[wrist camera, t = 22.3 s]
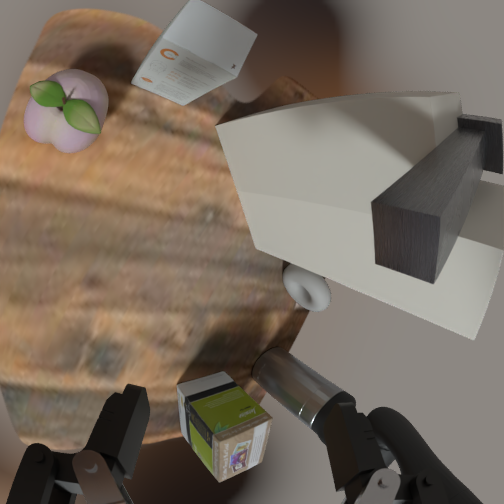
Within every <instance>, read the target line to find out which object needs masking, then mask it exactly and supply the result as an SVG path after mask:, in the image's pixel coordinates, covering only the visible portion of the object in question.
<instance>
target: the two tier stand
mask: <svg viewBox="0 0 504 504" xmlns="http://www.w3.org/2000/svg"><path fill="white" fill-rule="evenodd" d="M460 115H462V107H461V100H460V94H459V93H457V92H436V91H432V92H431V91H404V92H403V91H402V92H381V93H367V94H356V95H347V96H338V97H331V98H324V99H317V100H311V101H305V102H300V103H294V104H289V105H284V106H280V107H276V108H273V109H269V110H265V111H261V112H258V113H254V114H251V115H248V116H244V117H241V118H238V119H235V120H231V121H228V122H225V123H222V124H219V125H216V126H215V127H216V130H217V133H218V136H219V139H220V142H221V145H222V148H223V151H224V154H225V157H226V160H227V163H228V166H229V169H230V172H231V175H232V178H233V181H234V184H235V187H236V190H237V193H238V196H239V199H240V202H241V205H242V208H243V211H244V214H245V217H246V220H247V223H248V226H249V229H250V232H251V235H252V238H253V241H254V244H255V247H256V249H258V250H261V251H263V252H266V253H268V254H270V255H273V256H275V257H278V258H280V259H282V260H285V261H287V262H290V263H292V264H294V265H297V266H299V267H302V268H304V269H306V270H309V271H311V272H314V273H316V274H318V275H321V276H323V277H326V278H328V279H330V280H333V281H335V282H338V283H340V284H342V285H345V286H347V287H350V288H352V289H354V290H356V291H359V292H361V293H364V294H366V295H368V296H371V297H373V298H375V299H378V300H380V301H383V302H385V303H387V304H390V305H392V306H394V307H397V308H399V309H401V310H404V311H406V312H408V313H411V314H413V315H416V316H418V317H420V318H423V319H425V320H428V321H430V322H432V323H434V324H437V325H439V326H441V327H444V328H446V329H448V330H451V331H453V332H456V333H458V334H460V335H462V336H465V337H467V338H469V339H472V340H474V339H475V337H476V335H477V332H478V330H479V327H480V325H481V323H482V320H483V317H484V315H485V312H486V309H487V307H488V304H489V301H490V298H491V295H492V292H493V289H494V285H495V282H496V279H497V275H498V272H499V268H500V264H501V260H502V256H503V251H504V186H502V185H498V184H494V183H490V182H486V181H481V180H480V182H479V185H478V188H477V191H476V194H475V196H474V199H473V202H472V205H471V207H470V210H469V212H468V215H467V217H466V220H465V222H464V225H463V227H462V229H461V231H460V234H459V236H458V238H457V240H456V243H455V245H454V247H453V249H452V251H451V253H450V255H449V257H448V259H447V261H446V263H445V265H444V267H443V269H442V271H441V273H440V274H439V276H438V278H437V280H436V282H435V283H434V284H431V283H428V282H425V281H423V280H420V279H417V278H414V277H411V276H409V275H406V274H403V273H400V272H397V271H394V270H391V269H389V268H386V267H383V266H380V265H377V264H375V251H374V234H373V221H372V210H371V201H373V200H374V199H375V198H376V197H377V196H379V195H380V194H381V193H382V192H384V191H385V190H386V189H387V188H388V187H390V186H391V185H392V184H393V183H394V182H396V181H397V180H398V179H399V178H400V177H402V176H403V175H404V174H405V173H406V172H408V171H409V170H410V169H411V168H412V167H413V166H415V165H416V164H417V163H418V162H419V161H421V160H422V159H423V158H424V157H425V156H426V155H427V154H429V153H430V152H431V151H432V150H433V149H434V148H436V147H437V146H438V145H439V144H440V143H441V142H442V141H443V140H445V139H446V138H447V137H448V136H449V135H450V134H451V133H452V132H454V131H455V130H456V129H457V128H458V121H457V117H459V116H460Z"/></svg>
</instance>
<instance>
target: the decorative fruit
mask: <svg viewBox="0 0 504 504" xmlns="http://www.w3.org/2000/svg"><path fill="white" fill-rule="evenodd" d="M30 92H31V95H32V97H31V98H30V100H29V102H28V104H27V107H26V110H25V115H24V127H25V130H26V132H27V134H28V135H29V136H30V137H31V138H32V139H33V140H34V141H36V142H39V143H45V144H46V143H51V144H53V145H54V146H55V147H56V148H57V149H58V150H59V151H61V152H64V153H76V152H79V151H82V150H84V149H86V148H87V147H89V146H90V145H91V144H92V143H93V142H94V141H95V140H96V139H97V137H98V136H99V134H100V133H101V130H102V127H103V124H104V121H105V118H106V114H107V110H108V94H107V91H106V88H105V87H104V85H103V83H102V82H101V81H100V80H99V79H98V78H97V77H96V76H94V75H92V74H90V73H87V72H85V71H82V70H79V69H67V70H63V71H60V72H57V73H55V74H53V75H51V76H50V77H49V78H47V79H46V80H45V81H40V82H37V83H35V84H33V85H31V86H30Z"/></svg>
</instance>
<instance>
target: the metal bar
mask: <svg viewBox="0 0 504 504" xmlns="http://www.w3.org/2000/svg"><path fill="white" fill-rule="evenodd" d="M457 121H458V128H457V129H456V130H455V131H454V132H452V133H451V134H450V135H449V136H448V137H447V138H446V139H445V140H443V141H442V142H441V143H440V144H439V145H438V146H437V147H436V148H434V149H433V150H432V151H431V152H430V153H429V154H427V155H426V156H425V157H424V158H423V159H422V160H421V161H419V162H418V163H417V164H416V165H415V166H413V167H412V168H411V169H410V170H409V171H408V172H406V173H405V174H404V175H403V176H402V177H400V178H399V179H398V180H397V181H396V182H394V183H393V184H392V185H391V186H390V187H388V188H387V189H386V190H385V191H384V192H382V193H381V194H380V195H379V196H377V197H376V198H375V199H374V200H373V201H371V210H372V221H373V234H374V251H375V264H377V265H380V266H383V267H386V268H389V269H391V270H394V271H397V272H400V273H403V274H406V275H409V276H411V277H414V278H417V279H420V280H423V281H425V282H428V283H431V284H434V283H435V282H436V280H437V278H438V276H439V274H440V273H441V271H442V269H443V267H444V265H445V263H446V261H447V259H448V257H449V255H450V253H451V251H452V249H453V247H454V245H455V243H456V240H457V238H458V236H459V234H460V231H461V229H462V227H463V225H464V222H465V220H466V217H467V215H468V212H469V210H470V207H471V205H472V202H473V199H474V196H475V194H476V191H477V188H478V185H479V182H480V179H481V176H482V172H483V170H486V171H491V172H495V173H499V174H503V133H502V120H501V119H495V118H489V117H483V116H475V115H467V114H462V115H460V116H459V117H457Z"/></svg>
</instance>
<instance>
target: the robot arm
mask: <svg viewBox="0 0 504 504" xmlns="http://www.w3.org/2000/svg"><path fill="white" fill-rule="evenodd" d="M252 377H253V379H254V380H255V381H256V382H257V383H258V384H259V385H260V386H261V387H262V388H263V389H264V390H266V391H267V392H268V393H269V394H270V395H271V396H272V397H273V398H274V399H276V400H277V401H278V402H279V403H280V404H281V405H282V406H284V407H285V408H286V409H287V410H288V411H290V412H291V413H292V414H293V415H294V416H295V417H297V418H298V419H299V420H300V421H302V422H303V423H304V424H305V425H307V426H308V427H309V428H310V429H312V430H313V431H314V432H315V433H316V434H317V435H318V436H319V438H320V440H321V441H322V442H323V443H324V444H325V445H326V446H327V451H328V455H329V460H330V465H331V469H332V474H333V478H334V483H335V489H336V492H337V491H343V490H345V494H346V497H345V498H344V500H343V502H342V503H341V504H483V503H482V502H481V501H480V500H479V499H478V498H477V497H476V496H475V495H474V494H473V493H472V492H471V491H470V490H469V489H468V488H467V487H466V486H465V485H464V484H463V483H462V482H461V481H459V479H457V478H456V477H455V476H454V475H453V474H452V473H451V471H449V469H448V468H447V467H446V466H445V465H444V464H443V463H442V462H441V461H440V460H439V459H438V458H437V456H436V455H435V454H434V453H433V451H432V450H431V449H430V447H429V446H428V445H427V444H426V442H425V441H424V439H423V438H422V437H421V435H420V434H419V433H418V432H417V430H416V429H415V428H414V427H413V425H412V424H411V423H410V422H409V421H408V420H407V419H406V418H405V417H404V416H403V415H401V414H400V413H399V412H397V411H395V410H393V409H391V408H388V407H379V408H376V409H374V410H372V411H371V412H370V413H369V414H368V416H367V417H366V416H365V415H364V414H363V413H357V410H356V408H355V406H356V401H355V398H354V397H353V396H351V395H350V394H348V393H347V392H345V391H344V390H342V389H341V388H339V387H338V386H336V385H335V384H333V383H332V382H330V381H328V380H327V379H326V378H324V377H323V376H321V375H320V374H318V373H317V372H316V371H314V370H313V369H311V368H310V367H308V366H307V365H306V364H304V363H303V362H301V361H300V360H298V359H297V358H295V357H294V356H293V355H291V354H290V353H288V352H287V351H286V350H284V349H283V348H280V347H275V348H272V349H270V350H268V351H267V352H265V353H264V354H263V355H262V356H261V357H260V358H259V359H258V360H257V362H256V363H255V365H254V368H253V371H252ZM149 416H150V406H149V402H148V397H147V392H146V388H145V387H140V386H136V385H132V384H127V385H126V387H125V389H124V391H123V394H120V393H116V392H115V393H114V394H113V395H111V396H110V397H109V398H108V399H107V400H106V402H105V404H104V406H103V409H102V411H101V413H100V415H99V419H98V420H97V422H96V424H95V426H94V428H93V431H92V433H91V435H90V438H89V440H88V442H87V444H86V446H85V448H84V449H83V450H82V451H80V452H78V453H74V454H67V453H60V452H53V451H51V450H50V449H49V448H48V447H47V446H45V445H43V444H40V443H34V444H31V445H30V446H28V448H27V449H26V451H25V453H24V456H23V458H22V460H21V463H20V466H19V468H18V471H17V473H16V476H15V479H14V481H13V484H12V487H11V490H10V493H9V496H8V499H7V503H6V504H75V500H76V496H77V494H83V495H84V497H85V500H86V501H87V504H133V502H132V500H131V499H130V497H129V495H128V493H127V491H126V489H125V488H124V486H123V484H122V483H123V479H124V477H125V478H129V479H132V476H133V472H134V468H135V465H136V461H137V458H138V454H139V450H140V447H141V444H142V441H143V437H144V434H145V431H146V427H147V424H148V421H149ZM394 460H396V461H397V463H398V465H399V468H400V471H401V475H400V474H397V473H396V472H395V471H393V470H391V469H388V466H389V465H390V464H391V463H392V462H393V461H394Z"/></svg>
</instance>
